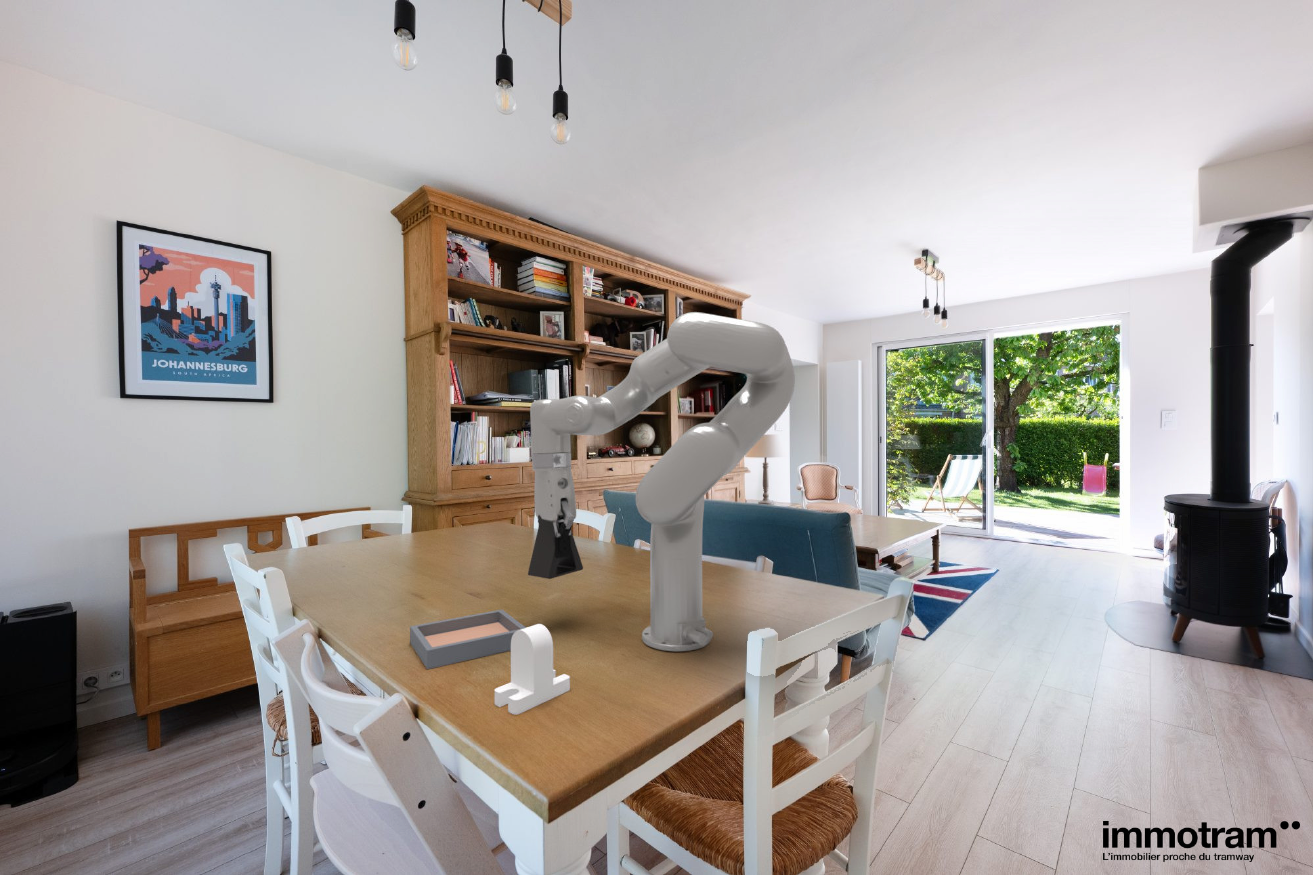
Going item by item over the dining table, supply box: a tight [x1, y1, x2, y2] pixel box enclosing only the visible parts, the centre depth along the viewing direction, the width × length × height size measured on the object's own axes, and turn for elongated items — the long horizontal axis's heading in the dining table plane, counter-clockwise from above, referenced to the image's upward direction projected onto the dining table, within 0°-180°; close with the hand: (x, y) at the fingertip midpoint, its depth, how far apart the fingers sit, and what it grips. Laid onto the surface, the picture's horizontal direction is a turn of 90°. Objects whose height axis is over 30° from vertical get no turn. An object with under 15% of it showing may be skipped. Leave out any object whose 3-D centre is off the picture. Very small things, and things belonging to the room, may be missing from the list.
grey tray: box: [409, 609, 527, 670], centre depth 99 cm, size 14×17×3 cm
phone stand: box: [527, 515, 584, 580], centre depth 108 cm, size 9×6×12 cm, turn 142°
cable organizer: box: [494, 623, 571, 716], centre depth 79 cm, size 5×10×10 cm, turn 140°
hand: (555, 553), depth 108 cm, fingers closed on phone stand, 6 cm apart
